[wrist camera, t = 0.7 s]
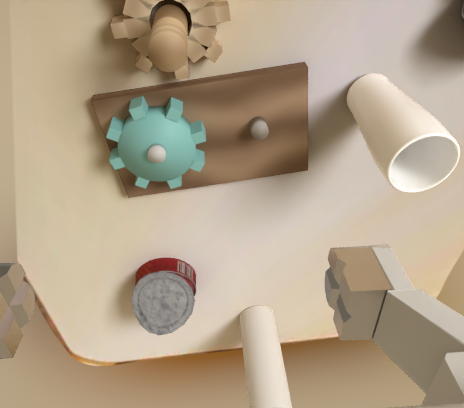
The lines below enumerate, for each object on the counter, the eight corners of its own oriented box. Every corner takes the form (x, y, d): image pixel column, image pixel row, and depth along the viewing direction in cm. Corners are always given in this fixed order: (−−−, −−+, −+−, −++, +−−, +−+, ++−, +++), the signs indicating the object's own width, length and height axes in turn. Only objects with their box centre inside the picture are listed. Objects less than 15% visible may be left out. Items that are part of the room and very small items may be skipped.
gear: (90, 113, 45) (84, 129, 42) (185, 81, 43) (185, 95, 41) (135, 188, 52) (133, 205, 49) (218, 162, 50) (220, 179, 48)
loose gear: (96, -42, 36) (71, -15, 29) (219, -62, 36) (228, -40, 28) (132, 77, 44) (120, 125, 36) (234, 61, 44) (244, 105, 36)
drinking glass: (343, 125, 50) (388, 202, 39) (334, 77, 46) (383, 147, 35) (397, 107, 49) (460, 181, 38) (393, 56, 45) (463, 122, 34)
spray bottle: (264, 301, 73) (291, 453, 54) (279, 317, 77) (309, 465, 58) (233, 313, 75) (248, 465, 56) (249, 329, 79) (268, 476, 60)
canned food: (141, 265, 71) (107, 301, 63) (169, 235, 65) (136, 270, 57) (187, 308, 72) (159, 349, 64) (219, 282, 66) (193, 323, 58)
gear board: (93, 95, 45) (87, 109, 42) (304, 61, 44) (312, 74, 42) (129, 190, 54) (126, 207, 51) (305, 163, 54) (311, 179, 51)
